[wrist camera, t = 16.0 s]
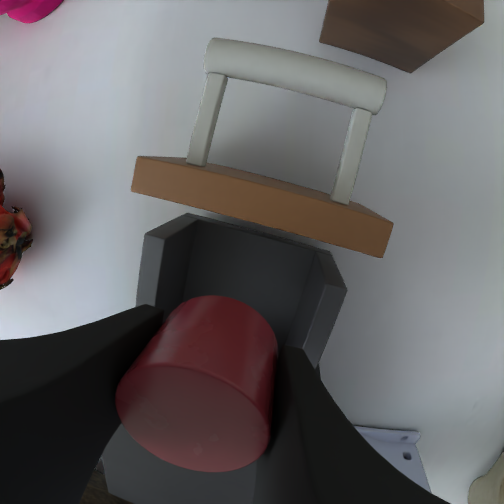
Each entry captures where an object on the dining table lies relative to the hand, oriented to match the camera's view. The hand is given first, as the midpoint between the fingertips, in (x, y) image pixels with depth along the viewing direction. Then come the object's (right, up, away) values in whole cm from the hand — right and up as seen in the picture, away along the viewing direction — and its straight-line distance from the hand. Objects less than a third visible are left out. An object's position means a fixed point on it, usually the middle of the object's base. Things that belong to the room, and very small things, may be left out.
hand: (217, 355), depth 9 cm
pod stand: (+7, +15, +3) cm, 17 cm away
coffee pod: (0, 0, 0) cm, 0 cm away
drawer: (+1, +4, +6) cm, 7 cm away
